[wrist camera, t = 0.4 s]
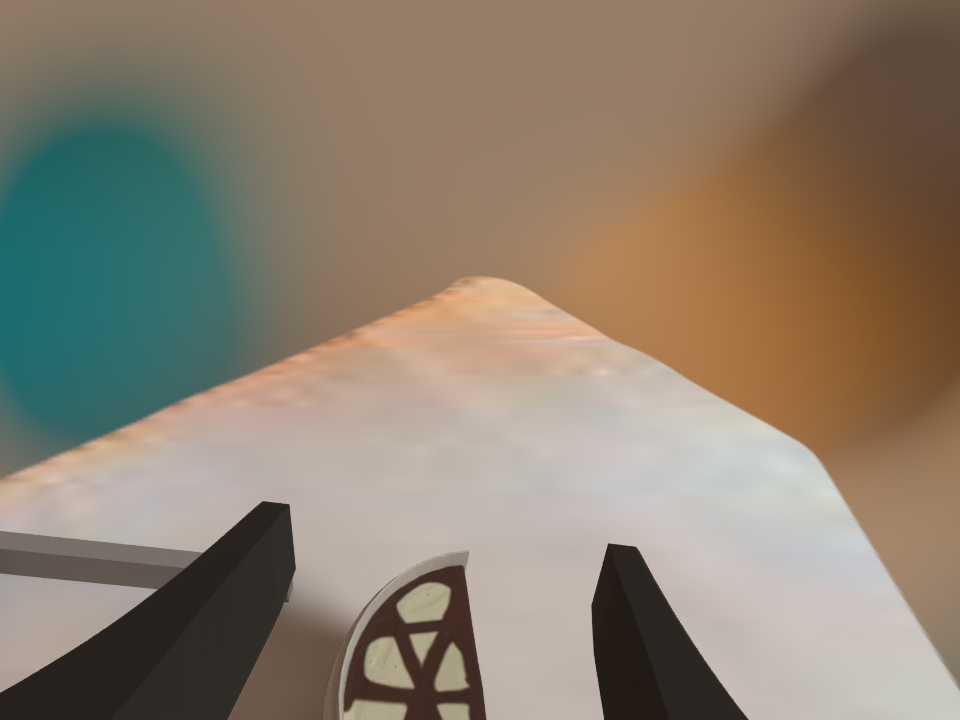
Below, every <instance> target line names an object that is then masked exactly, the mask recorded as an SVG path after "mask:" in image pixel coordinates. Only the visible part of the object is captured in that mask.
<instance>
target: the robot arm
mask: <svg viewBox="0 0 960 720" xmlns="http://www.w3.org/2000/svg"><path fill="white" fill-rule="evenodd" d="M295 569H296V565H295V555H294V545H293V535H292V525H291V515H290V505H289V504H282V503H273V502H265V501H263V502H261V503H260V504H259V505H258V506H256V507H255V508H254V509H253V510H252V511H251V512H250V513H248V514H247V515H246V516H245V517H244V518H243V519H242V520H241V521H239V522H238V523H237V524H236V525H235V526H234V527H233V528H232V529H230V530H229V531H228V532H227V533H226V534H225V535H224V536H222V537H221V538H220V539H219V540H218V541H217V542H216V543H214V544H213V545H212V546H211V547H210V548H209V549H207V550H206V551H205V552H204V553H203V554H202V555H200V556H199V557H198V558H197V559H196V560H194V561H193V562H192V563H191V564H190V565H188V566H187V567H186V568H185V569H184V570H182V571H181V572H180V573H179V574H178V575H176V576H175V577H174V578H173V579H171V580H170V581H169V582H167V583H166V584H165V585H163V586H162V587H161V588H160V589H158V590H157V591H156V592H154V593H153V594H152V595H151V596H149V597H148V598H147V599H145V600H144V601H143V602H142V603H140V604H139V605H137V606H136V607H135V608H133V609H132V610H131V611H129V612H128V613H126V614H125V615H124V616H122V617H121V618H120V619H118V620H117V621H115V622H114V623H112V624H111V625H110V626H108V627H107V628H105V629H104V630H102V631H101V632H99V633H98V634H96V635H95V636H93V637H92V638H90V639H89V640H87V641H86V642H84V643H83V644H81V645H80V646H78V647H76V648H75V649H73V650H72V651H70V652H68V653H67V654H65V655H64V656H62V657H60V658H59V659H57V660H55V661H54V662H52V663H50V664H49V665H47V666H45V667H44V668H42V669H40V670H39V671H37V672H36V673H34V674H32V675H31V676H29V677H27V678H26V679H24V680H22V681H20V682H19V683H17V684H15V685H13V686H12V687H10V688H8V689H6V690H4V691H3V692H1V693H0V720H227V719H228V717H229V715H230V713H231V711H232V709H233V707H234V705H235V703H236V701H237V699H238V697H239V695H240V693H241V691H242V688H243V686H244V684H245V682H246V680H247V678H248V676H249V674H250V672H251V670H252V668H253V666H254V664H255V662H256V660H257V658H258V656H259V654H260V652H261V650H262V648H263V646H264V644H265V642H266V640H267V638H268V636H269V634H270V632H271V630H272V628H273V626H274V624H275V622H276V620H277V618H278V616H279V614H280V611H281V608H282V606H283V603H284V600H285V598H286V595H287V592H288V590H289V587H290V584H291V581H292V578H293V575H294V572H295ZM592 629H593V647H594V657H595V664H596V671H597V677H598V683H599V690H600V696H601V702H602V708H603V714H604V720H748V718H747V717H746V716H745V715H744V713H743V712H742V711H741V710H740V708H739V707H738V706H737V704H736V703H735V702H734V700H733V699H732V698H731V696H730V695H729V694H728V692H727V691H726V690H725V688H724V687H723V685H722V684H721V683H720V681H719V680H718V678H717V677H716V676H715V674H714V673H713V671H712V670H711V668H710V667H709V666H708V664H707V663H706V661H705V660H704V658H703V657H702V655H701V654H700V652H699V651H698V649H697V648H696V646H695V645H694V643H693V642H692V640H691V639H690V637H689V635H688V634H687V632H686V631H685V629H684V628H683V626H682V624H681V623H680V621H679V620H678V618H677V617H676V615H675V613H674V612H673V610H672V608H671V607H670V605H669V603H668V602H667V600H666V598H665V596H664V595H663V593H662V591H661V590H660V588H659V586H658V584H657V583H656V581H655V579H654V577H653V575H652V574H651V572H650V570H649V568H648V566H647V564H646V563H645V561H644V559H643V557H642V555H641V553H640V551H639V550H638V549H637V548H636V547H633V546H625V545H617V544H609V543H608V546H607V550H606V554H605V557H604V561H603V565H602V568H601V572H600V576H599V580H598V583H597V587H596V591H595V595H594V598H593V602H592Z"/></svg>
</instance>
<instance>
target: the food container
mask: <svg viewBox="0 0 960 720" xmlns="http://www.w3.org/2000/svg"><path fill="white" fill-rule="evenodd" d="M468 555H469V550H468V551H459V552H451V553H447V554H444V555H440V556H436V557H433V558H430V559H428V560H426V561H423V562H421V563H419V564H416V565H415V566H413V567H411V568H410V569H408V570H406V571H405V572H403V573H402V574H400V575H399V576H397V577H396V578H394V579H393V580H392V581H391V582H389V583H388V584H387V585H386V586H385V587H384V588H382V589H381V590H380V591H379V592H378V593H377V594H376V595H375V596H374V597H373V598H372V600H371V601H370V602H369V603H368V604H367V605H366V606H365V608H364V609H363V610H362V612H361V613H360V615H359V616H358V618H357V620H356V621H355V623H354V624H353V626H352V627H351V629H350V631H349V633H348V635H347V636H346V638H345V640H344V642H343V644H342V646H341V649H340V651H339V653H338V655H337V657H336V660H335V662H334V664H333V667H332V670H331V674H330V677H329V681H328V684H327V688H326V691H325V699H324V706H323V714H322V720H486V713H485V704H484V695H483V687H482V681H481V675H480V670H479V664H478V658H477V652H476V646H475V639H474V633H473V627H472V620H471V612H470V605H469V598H468V591H467V585H466V578H465V569H466V565H467V560H468Z"/></svg>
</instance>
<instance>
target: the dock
mask: <svg viewBox="0 0 960 720" xmlns="http://www.w3.org/2000/svg"><path fill="white" fill-rule="evenodd" d="M202 554H203V553H200V552H191V551H182V550H172V549H163V548H154V547H144V546H135V545H125V544H116V543H107V542H97V541H88V540H79V539H69V538H60V537H51V536H41V535H32V534H23V533H13V532H4V531H0V573H5V574H15V575H25V576H35V577H45V578H55V579H65V580H75V581H85V582H95V583H105V584H115V585H125V586H135V587H144V588H154V589H160V588H161V587H162V586H163V585H165V584H166V583H167V582H169V581H170V580H171V579H173V578H174V577H175V576H176V575H178V574H179V573H180V572H181V571H182V570H184V569H185V568H186V567H187V566H188V565H190V564H191V563H192V562H193V561H194V560H196V559H197V558H198V557H199V556H200V555H202ZM292 587H293V579H292V581H291V584H290V587H289V590H288V592H287V595H286V598H285V600H284V602H288V600H289V597H290V594H291V590H292Z"/></svg>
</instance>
